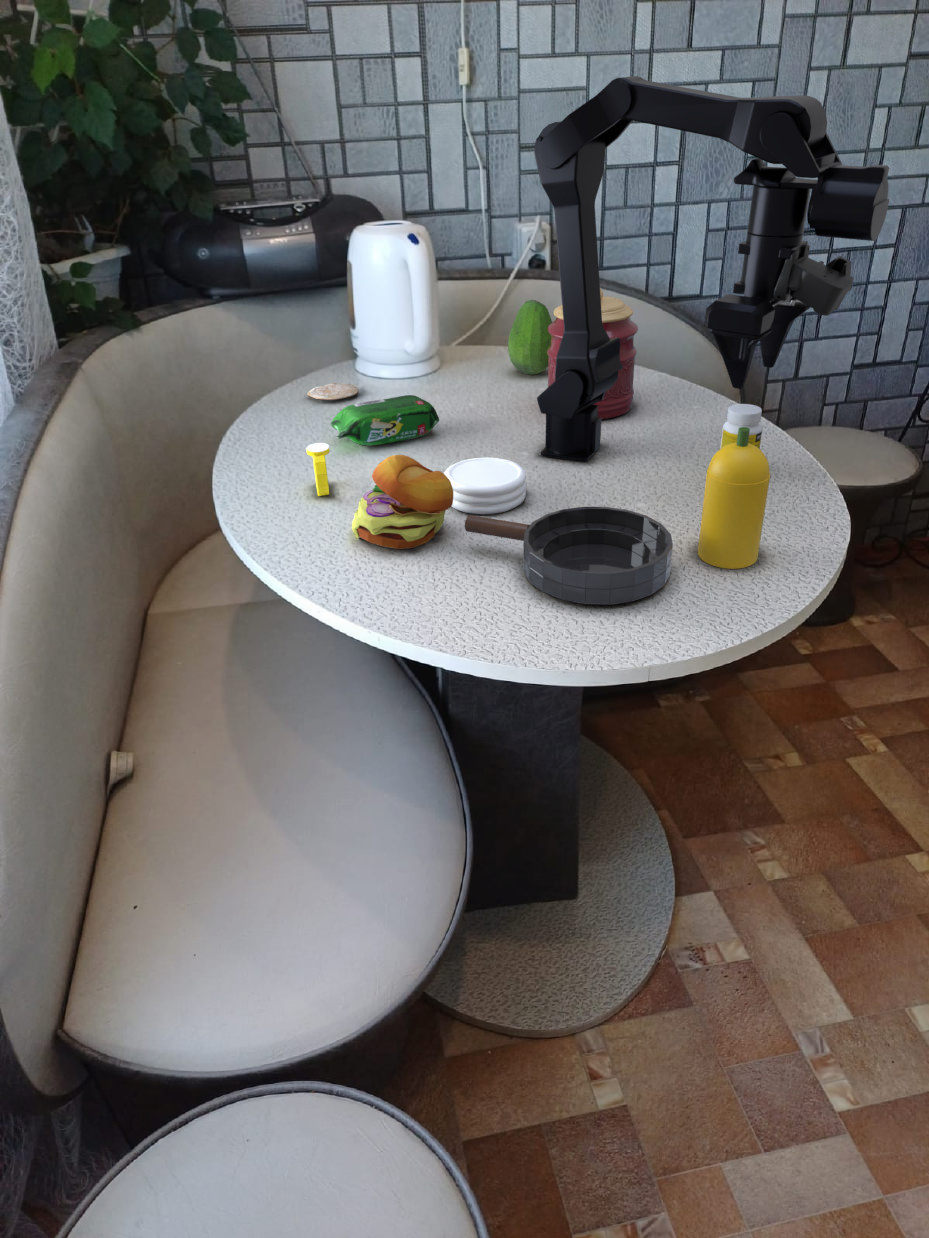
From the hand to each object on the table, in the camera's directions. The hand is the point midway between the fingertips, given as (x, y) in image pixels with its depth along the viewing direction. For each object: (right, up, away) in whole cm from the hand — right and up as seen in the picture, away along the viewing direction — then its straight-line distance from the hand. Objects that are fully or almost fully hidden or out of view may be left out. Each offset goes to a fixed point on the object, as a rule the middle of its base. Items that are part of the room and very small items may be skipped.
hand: (753, 377), depth 107 cm
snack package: (-44, -2, +25) cm, 51 cm away
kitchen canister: (-14, +4, +34) cm, 37 cm away
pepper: (-5, -21, -7) cm, 23 cm away
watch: (-51, -12, +10) cm, 53 cm away
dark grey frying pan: (-19, -23, -10) cm, 32 cm away
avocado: (-22, +13, +49) cm, 55 cm away
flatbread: (-54, +8, +42) cm, 69 cm away
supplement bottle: (+1, -9, +11) cm, 15 cm away
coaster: (-31, -13, +7) cm, 34 cm away
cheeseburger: (-40, -18, 0) cm, 44 cm away
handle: (-30, -19, -7) cm, 36 cm away
